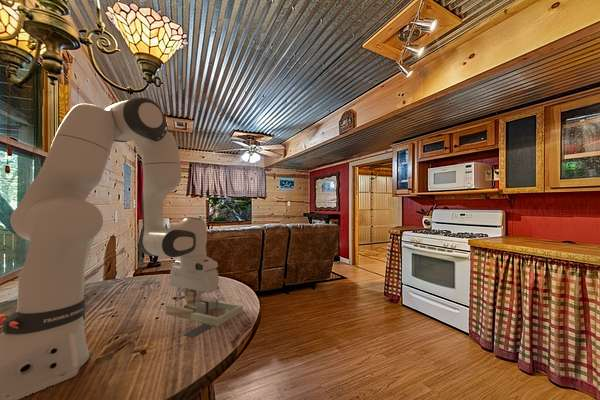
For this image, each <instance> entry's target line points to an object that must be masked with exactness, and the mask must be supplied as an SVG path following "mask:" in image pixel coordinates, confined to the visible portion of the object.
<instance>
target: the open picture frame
mask: <svg viewBox="0 0 600 400" xmlns="http://www.w3.org/2000/svg"><path fill="white" fill-rule="evenodd" d="M215 309H221V310H226V312H224V313H223V314H222V315H219V316H213V315H209V314H201V313H196V312H193V313H191V319H190V320H191V321H195V322H199V323H202V324H207V325H211V326H215V327H219V326H220V325H222V324H224V323H226V322H227V321H230V320H231V319H232V318H234V317H236V316H237V315H239V314H241V313H243V312H244V305H243V304H237V303H231V302H227V301H221V300H218V301H217V302H216V308H215Z"/></svg>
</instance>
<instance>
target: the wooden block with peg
mask: <svg viewBox="0 0 600 400" xmlns="http://www.w3.org/2000/svg"><path fill="white" fill-rule="evenodd" d="M196 295H197V293H196V290H192V289H190V290H188V291H187V301H186V304H185V305H183V308H188V304H191V303H194V297H196Z"/></svg>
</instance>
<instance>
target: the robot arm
mask: <svg viewBox="0 0 600 400" xmlns="http://www.w3.org/2000/svg"><path fill="white" fill-rule="evenodd" d="M131 141H132V142H133V141H134V142H135V144H136V145H137V146H138V148H139V150H140V153H141V154H140V155H141V164H142V174H143V175H142V176H143V177H142V179H143V183H142V184H143V185H142V191H141V212H142V213H141V214H142V215H141V218H142V223H141V226H142V227H141V231H140V235H139V238H138V247H139V249H140V251H141V252H142V253H143V254H144V255H146V256H149V257H150V256H151V257H164V258H173V259H174V258H179V260H175V261H173V263H172V264H171V268H170V273H169V280H168V281H169V285H170V287H175V288H180V289H182V292H183V296H184V295H185V298H184V301H186V302H187V291H188V290H191V289H192V290H196V293H197V295H196V297H194V302H196V301H200V300H201V296H202V295H203V294H204V293H212V292H215V291H217V290H218V288H219V287H218V286H219V272H218V270H217V268H218V266H219V263H218V261H215V260H214V259H212V258H211V257H210V256H207V255H208V254H207V253H208V252H207V249H206V247H207V241H208V239H207V238H208V232H207V230H208V229H207V224H206V221H204V220H203V219H201V218H197V217H184V218H183V219H182V220H181V221H180V222H179V223H177V224H175V225H172V226H170V227H165V225H164V212H163V211H164V210H163V209H164V205H163V204H164V201H165V198H166V197H167V196H168V195H169V194H170V193H171V192H173V191H174V190H175V189H176V188H177V187H178V186H179V185H180V183H181V180H182V164H181V158H180V157H181V156H180V152H179V148H178V144H177V141H176V138H175V136H174V135H173V133H171V132H169V131H168V124H167V121H166V116H165V114H164V112H163V110H162V108H161V107H160V106H159V104H158V103H157V102H155V101H154V100H152V99H150V98H147V97H133V98H130V99H127V100H122V101H118V102H116V103H114V104H112V105H109V106H107V107H104V108H102V107H100V106H98V105H96V104H91V103H79V104H77V105H74V106H73V107H72V108H71V109H70V111H69V112H68V113H67V114H66V115H65V117H64V118H63V120H62V122H61V124H60V125H59V127H58V129H57V131H56V133H55V135H54V138H53V140H52V142H51V145H50V148H49V150H48V152H47V155H46V156H45V160H44V162H43V164H42V166H41V168H40V169H39V172H38V173H37V175H35V178H34V179H33V181H31V184H30V185H29V187H28V189H27V190H26V191H25V193H24V195H23V196H22V198H21V200H20V202H19V204H18V205H17V207H16V208H15V209H14V210H13V211H12V212H11V215H10V217H9V224H10V226H11V228H12V230H13V231H14V233H15V234H17V236H19V237H20V238H22V239H23V240H26V241H29V247H28V251H27V254H26V258H25V261H24V263H23V267H22V268H21V270H20V271H19V273H18V280H17V281H18V282H17V283H18V284H17V298H16V299H17V301H16V302H17V303H16V304H17V306H16V309H15V310H14V312H12V313H11V314H10V315H6V314H4V313H0V326H2V332H1V333H0V400H21V399H23V398H26V397H27V396H30V394H31V395H32V393H33V394H35V393H37V392H41V391H42V390H45V389H48V388H50V387H52V385H53V386H56V385H58V384H60V383H62V382H64V381H66V380H70V379H72V378H73V377H75V376H77V375H78V373H79V371H80V368H81V367H82V366H83V365H84V364H86V362H87V361H88V360H89V359H90V356H91V353H90V351H89V349H88V348H89V347H88V344H87V341H86V335H85V325H84V324H85V323H84V321H85V320H86V319H85V318H86V298H85V297H84V291H85V290H84V289H85V287H84V286H85V272H86V267H87V266H86V264H87V261H88V257H89V253H90V251H91V248H92V244H93V241H94V239H95V237H97V235H98V234H99V233H100V231H101V230H102V227H103V223H104V217H103V215H102V212H101V211H100V209H99V208H98V207H97V206H96V205H94V204H93V203H92V202H89V201H87V198H88V197H89V195H90V194H91V192H92V191H93V190H94V189H95V187H96V186H97V185H99V184H100V182H101V180H102V178H103V174H104V172H105V169H106V166H107V164H108V159H109V157H110V154H111V151H112V148H113V144H114V143H115V142H119V143H127V142H131ZM203 291H204V292H203ZM49 386H50V387H49ZM47 387H48V388H47ZM25 396H26V397H25Z"/></svg>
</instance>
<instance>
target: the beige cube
mask: <svg viewBox="0 0 600 400" xmlns="http://www.w3.org/2000/svg"><path fill="white" fill-rule="evenodd" d="M205 297H206V298H203V299H201V300H200V302H204V303H206V313H209V312H211V311H213V310H216V309H217V308H216V299H217V297H212V296H205Z"/></svg>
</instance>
